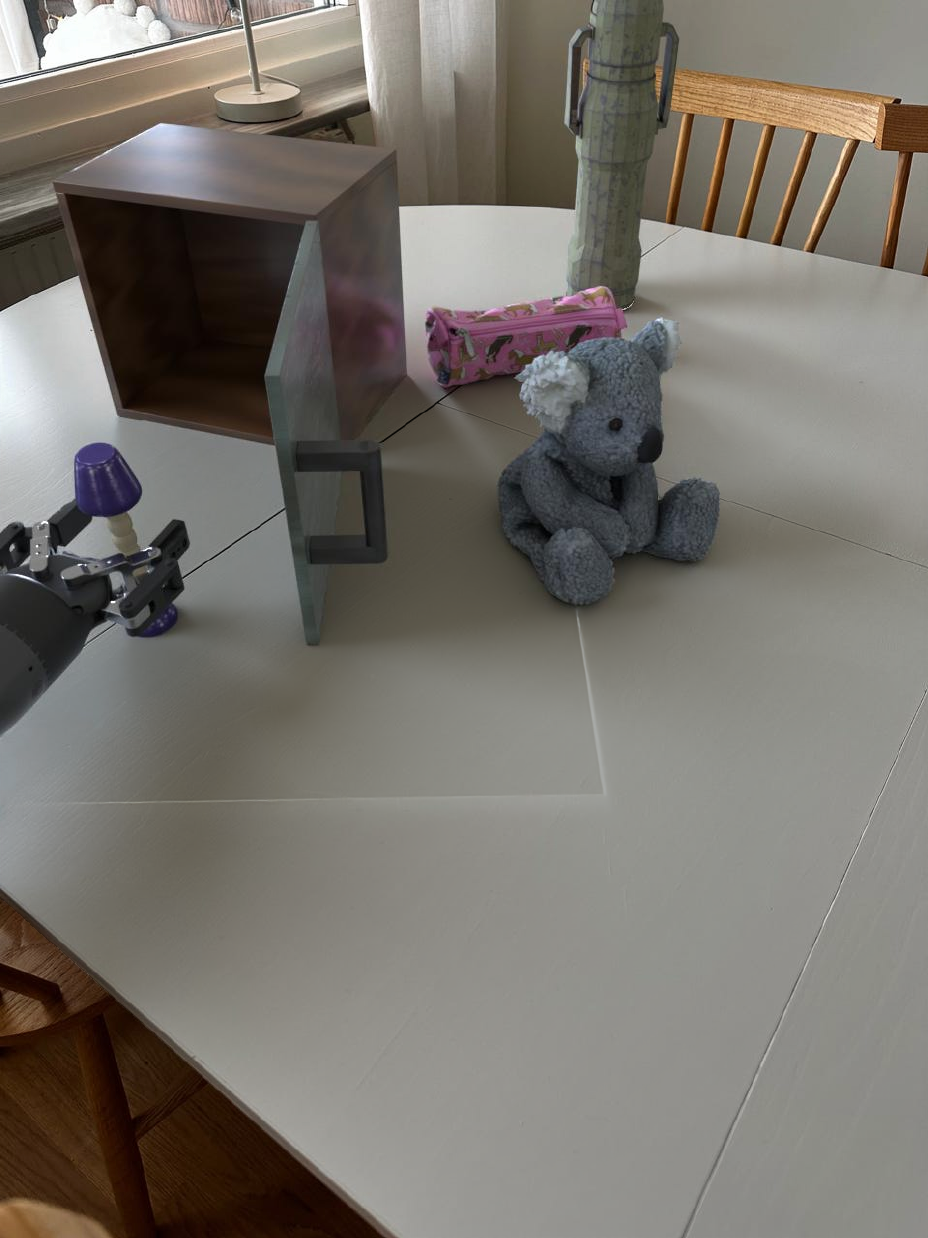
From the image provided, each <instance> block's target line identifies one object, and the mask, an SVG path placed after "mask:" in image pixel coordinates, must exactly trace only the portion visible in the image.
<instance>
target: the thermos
mask: <svg viewBox="0 0 928 1238" xmlns="http://www.w3.org/2000/svg"><path fill="white" fill-rule="evenodd" d="M664 5H665V4H664V0H592V1H591V5H590V14H589V15H590V16H589V17H590V18H589V22H587V25H584V26H582V27H579V28H577V30H576V31H575V33H574V34H573V35H572V37H571V39H570V40H569V42H568V54H567V55H568V57H567V73H566V75H567V76H566V93H565V108H564V121H563V123H564V125H565V126H566V127H567V129H569V131H570V132H571V133H572V134H573V135H574V136H575V153H576V156H577V159H578V164H577V165H578V166H577V180H576V181H577V182H576V192H575V193H576V195H575V207H574V208H575V209H574V210H575V211H574V221H573V233H572V237H571V239H570V240H569V243H568V246H567V257H566V273H565V278H566V282H567V283H566V284H567V285H566V292H565V296H568V297H572V296H574V295H576V294H577V293H578V292H580V291H585V290H587V289H591V288H596V287H599V286H602V287H607V288H608V289H609V290H610V291H611V293H612V295H613V298H614V301H615V305H616V309H618V308H622V309H624V308H627V307H629V306H630V305H631V304H632V303H633V301H634V302H635V300H634V299H635V294H636V287H637V285H638V282H639V275H640V270H641V269H640V267H641V260H642V251H643V250H642V246H641V242H640V241H641V240H640V231H641V230H640V229H641V220H642V211H643V203H644V197H645V196H644V195H645V186H646V178H647V169H648V162H649V161H650V159H651V157H652V155H653V154H654V145H655V137H656V136H658V133H659V130H661V129H662V130H663V129H667V126H668V123H669V118H670V114H671V113H670V112H671V107H672V100H673V90H674V84H675V76H676V69H677V68H676V67H677V61H678V52H679V46H680V37H679V35H678V33H677V31H676V28H675V27H674V25H673V24H671V23H669V22H668V21H664V11H665V6H664ZM661 38H665V41H666V42H665V46H664V47H665V48H664V56H663V64H662V72H661V81H660V89H659V97H658V95H657V88H656V82H657V73H656V64H657V61H658V60H659V54H660V47H661V46H660V45H661ZM587 39H588V42H587V43H588V44H587V59H588V67H587V68H588V70H587V71H586V72H585V83H584V85H583V89H582V91H581V94H580V93H579V90H580V77H581V76H580V75H581V62H582V61H581V59H582V47H583V46H584V43H585V42H586V40H587ZM579 94H580V97H579ZM633 304H634V303H633Z"/></svg>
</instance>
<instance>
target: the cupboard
mask: <svg viewBox="0 0 928 1238" xmlns="http://www.w3.org/2000/svg"><path fill="white" fill-rule="evenodd" d="M397 156H398V155H397V149H396V148H392V147H383V146H382V147H380V146H372V145H364V144H354V143H347V142H345V143H344V142H335V141H327V140H316V139H308V138H299V137H291V136H290V137H289V136H283V135H282V136H281V135H272V134H263V133H254V132H245V131H236V130H227V129H219V128H218V129H217V128H209V127H201V126H200V127H199V126H191V125H190V126H189V125H180V124H172V123H163V122H161V123H160V122H159V123H158V124H156V125H155V126H153V127H151V128H149V129H147V130H145V131H143V132H142V133H139V134H137V135H135V136H134V137H132V138H130V139H128V140H126V141H124V142H122V143H120V144H119V145H117V146H115V147H113V148H111V149H110V150H107V151H106V152H104V153H102V154H100V155H98V156H96V157H95V158H92V159H91V160H89V161H87V162H85V163H83V164H82V165H79V166H78V167H76V168H74V169H72V170H70V171H69V172H66V173H65V174H63V175H61V176H59V177H57V178H55V179H54V180H52V181H51V182H52V186H53V189H54V192H55V196H56V200H57V203H58V207H59V211H60V215H61V218H62V222H63V225H64V229H65V232H66V236H67V240H68V243H69V246H70V251H71V254H72V258H73V261H74V264H75V268H76V271H77V275H78V279H79V282H80V286H81V289H82V293H83V297H84V301H85V305H86V308H87V311H88V315H89V319H90V322H91V326H92V329H93V330H92V331H93V333H94V336H95V340H96V345H97V347H98V352H99V355H100V358H101V362H102V366H103V369H104V372H105V376H106V380H107V384H108V387H109V390H110V395H111V399H112V401H113V405H114V408H115V413H116V416H118V417H123V418H127V419H133V420H138V421H144V422H150V423H156V424H161V425H167V426H172V427H177V428H180V429H181V428H182V429H185V430H186V429H187V430H192V431H197V432H202V433H206V434H212V435H216V436H222V437H228V438H232V439H238V440H242V441H246V442H247V441H248V442H254V443H259V444H263V445H267V446H273V447H275V441H274V434H273V428H272V422H271V415H270V409H269V402H268V396H267V390H266V383H265V377H264V376H265V372H266V368H267V365H268V361H269V357H270V354H271V350H272V346H273V342H274V339H275V335H276V331H277V327H278V324H279V320H280V316H281V313H282V309H283V305H284V301H285V298H286V294H287V290H288V287H289V283H290V279H291V275H292V272H293V268H294V264H295V260H296V257H297V253H298V249H299V246H300V242H301V238H302V234H303V231H304V227H305V223H306V221H318V226H319V236H320V245H321V255H322V265H323V275H324V284H325V294H326V304H327V313H328V323H329V333H330V342H331V352H332V362H333V371H334V381H335V391H336V400H337V410H338V420H339V429H340V439H341V440H358V438H359V437H360V435H361V434H362V433H363V432H364V430H365V429H366V428H367V426H368V425H369V424H370V423H371V421H372V420H373V419H374V418H375V417H376V415H377V414H378V413H379V411H380V410H381V408H382V407H383V406H384V405H385V404H386V402H387V401H388V400H389V399H390V397H391V396H392V395H393V393H394V392H395V391H396V389H397V388H398V387H399V386H400V384H401V383H402V382H403V380H404V379H405V378H406V376H407V375H408V370H407V369H408V365H407V347H406V345H407V343H406V325H405V324H406V323H405V322H406V321H405V304H404V303H405V302H404V283H403V282H404V281H403V280H404V279H403V262H402V261H403V260H402V242H401V241H402V239H401V219H400V218H401V217H400V197H399V196H400V195H399V177H398V176H399V175H398V159H397V158H398V157H397Z"/></svg>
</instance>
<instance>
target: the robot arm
mask: <svg viewBox="0 0 928 1238" xmlns="http://www.w3.org/2000/svg"><path fill="white" fill-rule="evenodd" d="M93 517H94V516H91V515H87V514H85V513H84V512H83V511H81V510H80V509H79V507H78V506H77V503H76V499H75V498H73V499H72V500H71V501H69V502H67V503H65V504H63V505H62V506H61V507H60V508H59V509H58V510H57V511H56V512H55V513H53V514H52V515H51V516H50V517H49V518H48V519H47V520H46V521H43V520H42V521H38V522H36V523H34V524H33V525H32V526H25V524H24V522H22V521H12V522H10V523H9V524H7V525H6V526H5V527H4V528H3V530H1V531H0V738H1V737H2V736H3V735H4V734H6V733H7V732H8V731H9V730H10V729H12V728H13V727H14V726H16V724H17V723H19V721H20V720H22V718H23V717H25V715H26V714H27V713H28V712H29V710H31V708H33V706H34V705H35V704H36V703H37V702H38V701H39V700H40V698H41V697H42V696H43V695H44V694H45V693H46V692H47V691H48V690H49V688H51V687H52V686H53V684H54V683H55V682H56V681H57V680H58V679H59V677H60V676H62V674H63V673H64V672H65V671H66V670H67V669H68V668H69V666H70V665H71V664H72V663H73V662H74V661H75V660H76V658H77V657H79V655H80V654H81V653H82V651H83V649H84V646H85V644H86V641H87V640H88V637H89V635H90V633H91V631H93V630H94V629H95V628H97V627H98V626H101V625H103V624H105V623H106V622H108V621H109V622H113V623H115V624H119V625H122V626H124V629H125V632H126V634H127V636H129V637H131V638H136V637H137V636H140V635H141V634H143V633H144V632H145V631H146V629H147V628H148V627H149V626H150V625H151V624H152V623H153V622H154V621H155V620H156V619H157V618H158V617H159V616H160V615H161V614H162V613H163V612H164V611H165V610H166V608H167V607H168V606H169V605H170V604H171V603H174V601H175V600H176V599H177V598H178V597H180V595H181V594H182V593H183V592H184V591H185V584H184V579H183V576H182V572H181V568H180V563H179V560H180V559H181V558H182V556H183V555H184V554H185V553H186V552H187V551H188V550H189V548H190V545H191V542H190V538H189V537H190V536H189V533H188V529H187V526H186V523H185V521H184V520H180V519H176V518H173V519H172V520H171V521H170V522H169V523H168V524H167V525H166V526H165V527H164V528H163V530H161V531H160V533H158V535H156V537H155V538H154V539H153V540H152V541H151V542H150V543H149V544H148V548H146V549H143V550H142V551H140V552H137V553H134V554H132V555H129V556H126V555H124V554H123V553H117V552H116V553H115V554H112V555H109V556H105V557H103V558H101V559H100V558H97V557H96V558H95V557H89V556H80V555H77V554H76V553H74V552H70V551H67V550H63V551H62V552H61V553H60V552H59V551H60V549H59V547H63V548H66V547H67V546H68V545H69V544H71V542H72V541H73V540H75V538H76V537H77V536H79V535H80V533H82V532H83V531H84V530H85V529H86V528H87V527H88V526H89V525H90V524H91V522H92V521H93V519H94V518H93ZM12 545H13V549H11V547H12ZM28 558H29V560H28V562H27V563H25V564H23V563H24V562H25V561H26V560H27V559H28ZM144 566H147V572H146V573H143V574H140V575H138V576H135V577H134V575H133V572H134V570H136V569H138V568H141V567H144ZM117 572H118V575H119V578H120V580H121V583H120V585H119V587H117V588H114V589H113V581H112V579H111V576H110V574H112V573H117Z"/></svg>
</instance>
